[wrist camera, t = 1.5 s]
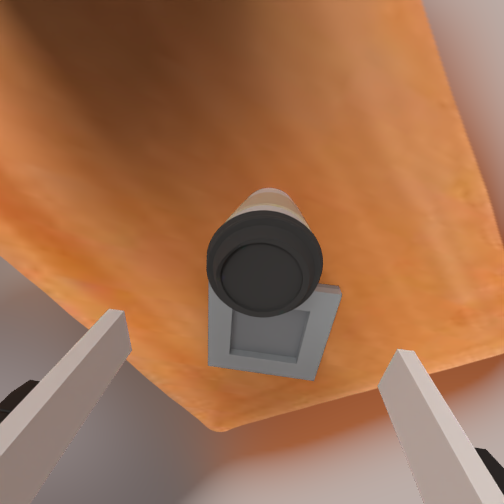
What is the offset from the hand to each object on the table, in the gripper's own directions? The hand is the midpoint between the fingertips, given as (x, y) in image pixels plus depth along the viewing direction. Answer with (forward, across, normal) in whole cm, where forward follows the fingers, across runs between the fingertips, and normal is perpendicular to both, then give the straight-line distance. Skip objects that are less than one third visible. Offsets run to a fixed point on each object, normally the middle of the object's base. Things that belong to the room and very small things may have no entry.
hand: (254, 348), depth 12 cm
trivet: (+20, +2, -18) cm, 27 cm away
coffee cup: (+20, 0, 0) cm, 21 cm away
